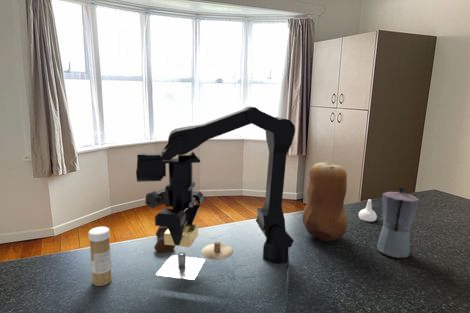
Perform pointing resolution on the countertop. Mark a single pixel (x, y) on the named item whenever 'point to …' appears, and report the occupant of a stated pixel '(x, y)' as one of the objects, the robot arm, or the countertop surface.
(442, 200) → the countertop surface
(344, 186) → the butternut squash
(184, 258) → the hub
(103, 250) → the sprinkles bottle
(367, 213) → the garlic bulb
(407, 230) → the moka pot
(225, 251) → the stand
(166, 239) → the brass square sleeve
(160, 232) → the bolt
